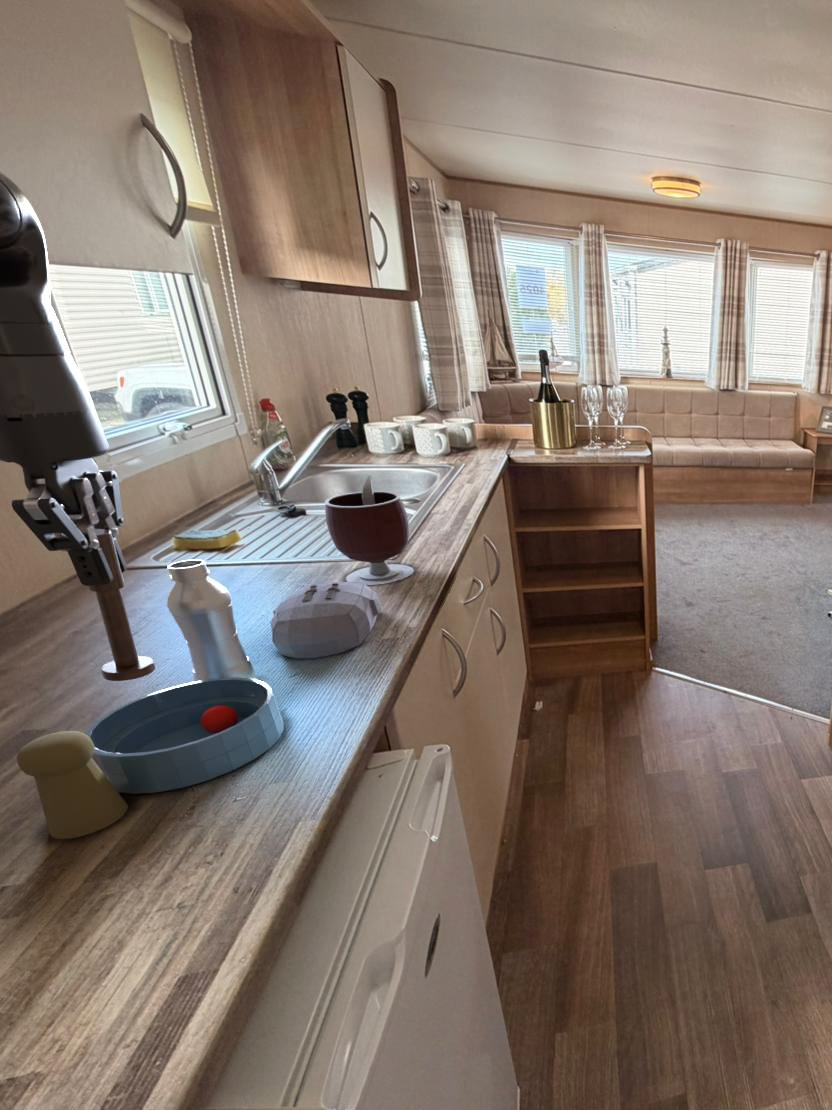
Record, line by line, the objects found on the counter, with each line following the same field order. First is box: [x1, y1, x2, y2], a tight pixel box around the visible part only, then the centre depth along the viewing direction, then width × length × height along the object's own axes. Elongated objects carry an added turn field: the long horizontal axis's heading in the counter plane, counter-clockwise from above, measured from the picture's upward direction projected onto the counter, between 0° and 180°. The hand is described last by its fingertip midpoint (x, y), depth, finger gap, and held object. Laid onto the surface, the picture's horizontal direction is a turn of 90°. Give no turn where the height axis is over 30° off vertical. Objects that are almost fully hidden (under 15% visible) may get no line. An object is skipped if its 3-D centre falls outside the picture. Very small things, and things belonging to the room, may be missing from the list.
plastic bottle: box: [166, 559, 257, 682], centre depth 89 cm, size 6×7×20 cm
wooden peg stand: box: [80, 529, 156, 682], centre depth 67 cm, size 4×4×16 cm
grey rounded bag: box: [269, 581, 381, 660], centre depth 109 cm, size 15×8×20 cm
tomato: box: [201, 706, 238, 733], centre depth 83 cm, size 4×4×4 cm
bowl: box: [84, 677, 285, 795], centre depth 79 cm, size 17×17×6 cm
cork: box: [16, 730, 129, 840], centre depth 67 cm, size 6×6×11 cm
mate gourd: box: [324, 475, 415, 586], centre depth 132 cm, size 16×14×20 cm
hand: (105, 577), depth 66 cm, fingers closed on wooden peg stand, 2 cm apart
